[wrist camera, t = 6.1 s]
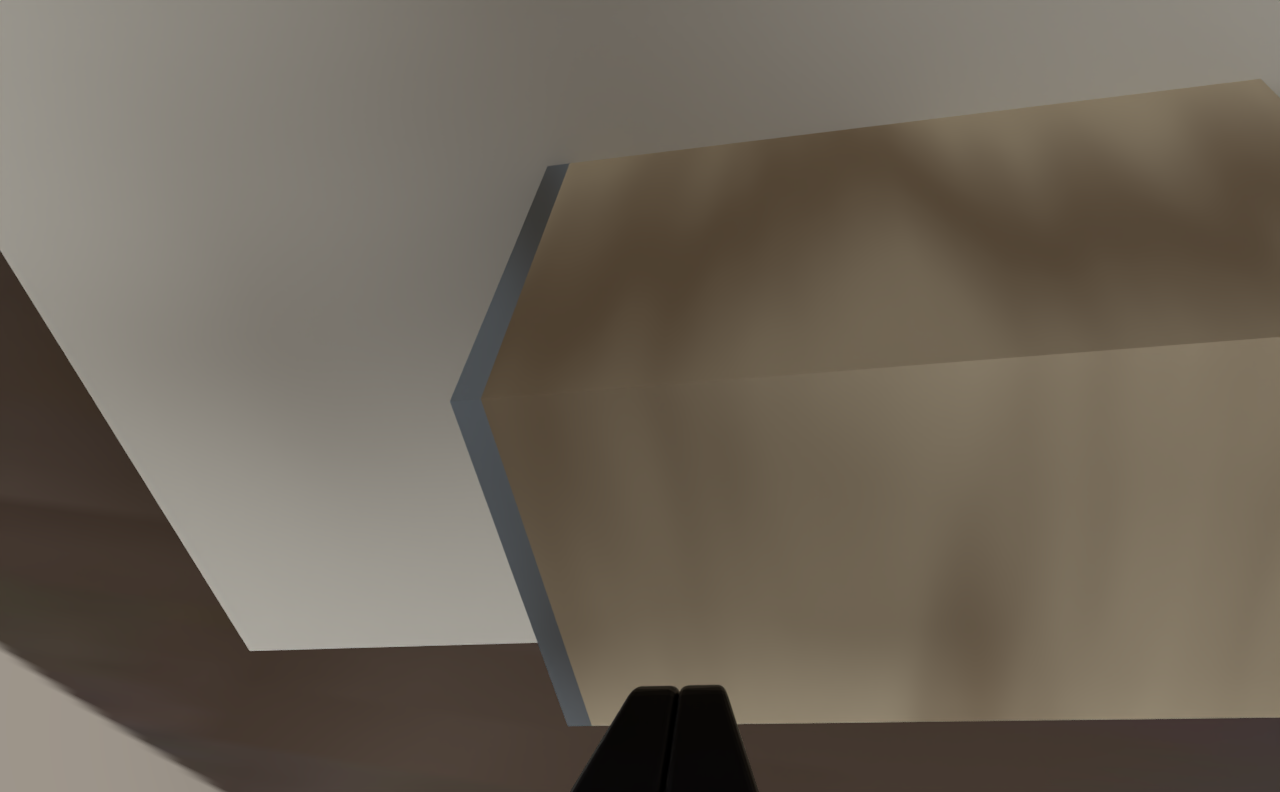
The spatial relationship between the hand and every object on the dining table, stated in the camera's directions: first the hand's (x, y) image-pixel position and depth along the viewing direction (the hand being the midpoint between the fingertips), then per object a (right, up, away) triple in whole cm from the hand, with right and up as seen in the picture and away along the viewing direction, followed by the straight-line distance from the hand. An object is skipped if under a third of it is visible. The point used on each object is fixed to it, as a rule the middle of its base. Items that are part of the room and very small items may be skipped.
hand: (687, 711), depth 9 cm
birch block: (-2, +2, +4) cm, 5 cm away
